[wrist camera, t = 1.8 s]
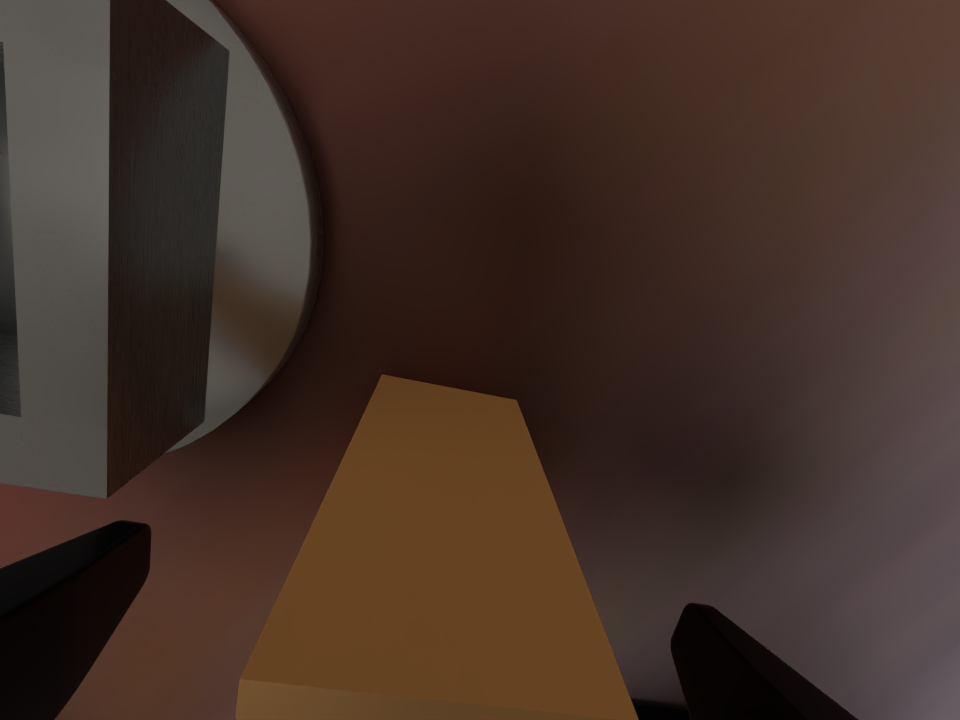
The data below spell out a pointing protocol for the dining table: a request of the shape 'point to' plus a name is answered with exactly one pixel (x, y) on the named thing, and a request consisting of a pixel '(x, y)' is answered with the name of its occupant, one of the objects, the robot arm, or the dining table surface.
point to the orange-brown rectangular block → (435, 581)
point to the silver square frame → (141, 234)
